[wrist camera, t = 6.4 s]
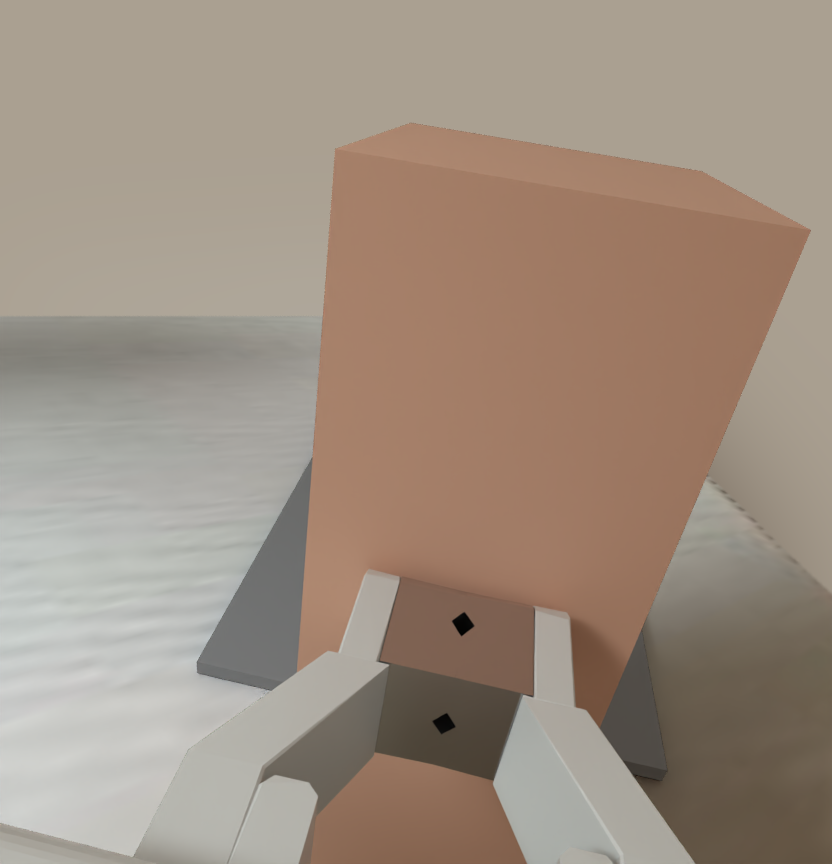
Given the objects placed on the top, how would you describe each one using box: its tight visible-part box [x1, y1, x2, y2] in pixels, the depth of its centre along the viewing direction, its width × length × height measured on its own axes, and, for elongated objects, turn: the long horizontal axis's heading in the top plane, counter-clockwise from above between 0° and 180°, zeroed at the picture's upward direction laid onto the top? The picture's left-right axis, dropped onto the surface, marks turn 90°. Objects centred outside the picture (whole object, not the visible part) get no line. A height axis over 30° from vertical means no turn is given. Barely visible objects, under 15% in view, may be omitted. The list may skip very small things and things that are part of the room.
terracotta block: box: [297, 123, 811, 864], centre depth 13 cm, size 5×5×16 cm
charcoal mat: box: [197, 457, 667, 781], centre depth 28 cm, size 20×14×1 cm
